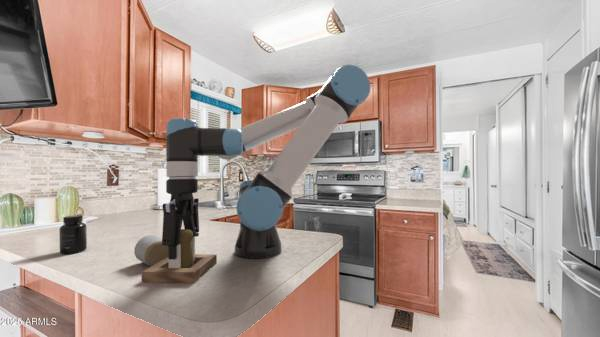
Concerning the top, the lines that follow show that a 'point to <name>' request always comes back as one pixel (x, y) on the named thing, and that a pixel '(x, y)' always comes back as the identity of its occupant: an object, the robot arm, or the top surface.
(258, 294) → the top surface
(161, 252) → the ceramic mug
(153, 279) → the socket block
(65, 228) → the supplement bottle
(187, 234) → the olive rounded upright piece
